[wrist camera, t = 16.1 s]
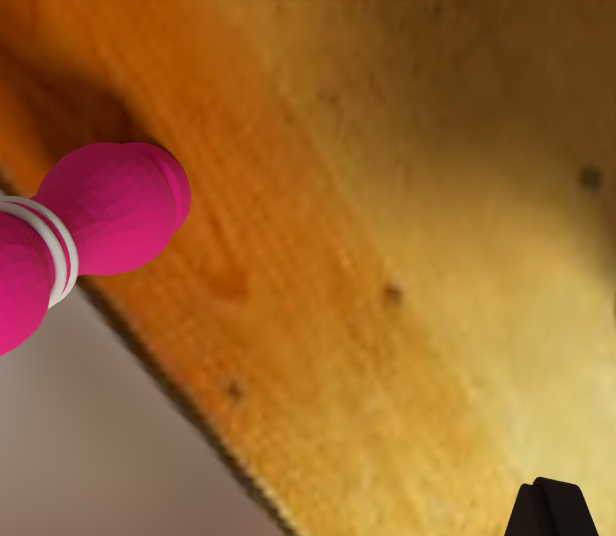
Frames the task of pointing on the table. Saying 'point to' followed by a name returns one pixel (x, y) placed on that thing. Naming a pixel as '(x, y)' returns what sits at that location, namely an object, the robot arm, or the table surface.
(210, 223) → the table surface
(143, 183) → the pepper mill
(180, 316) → the table surface
